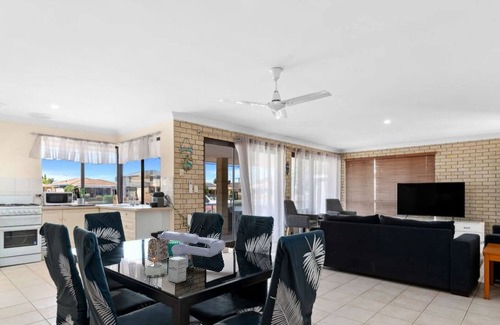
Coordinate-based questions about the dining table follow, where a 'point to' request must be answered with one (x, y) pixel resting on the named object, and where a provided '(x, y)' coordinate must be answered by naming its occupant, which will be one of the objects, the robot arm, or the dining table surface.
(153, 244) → the decorative jar
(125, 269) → the dining table surface
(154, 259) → the copper-knobbed silver dome
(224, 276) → the dining table surface
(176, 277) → the supplement box
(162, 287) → the dining table surface
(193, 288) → the dining table surface
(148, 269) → the octagonal hollow frame
